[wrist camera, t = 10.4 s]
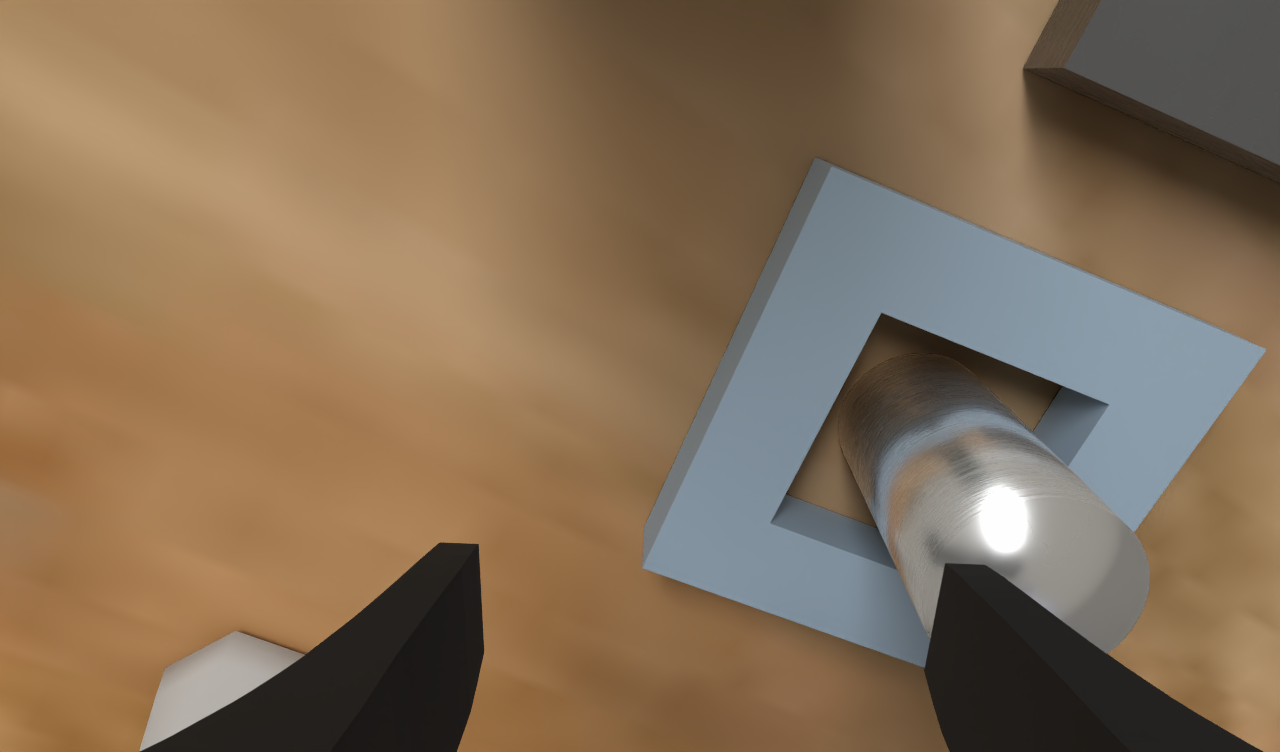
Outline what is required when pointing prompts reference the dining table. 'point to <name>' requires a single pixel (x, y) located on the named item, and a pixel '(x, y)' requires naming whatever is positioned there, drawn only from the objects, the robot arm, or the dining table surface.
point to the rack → (951, 308)
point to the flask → (212, 681)
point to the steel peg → (985, 498)
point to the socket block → (1176, 69)
